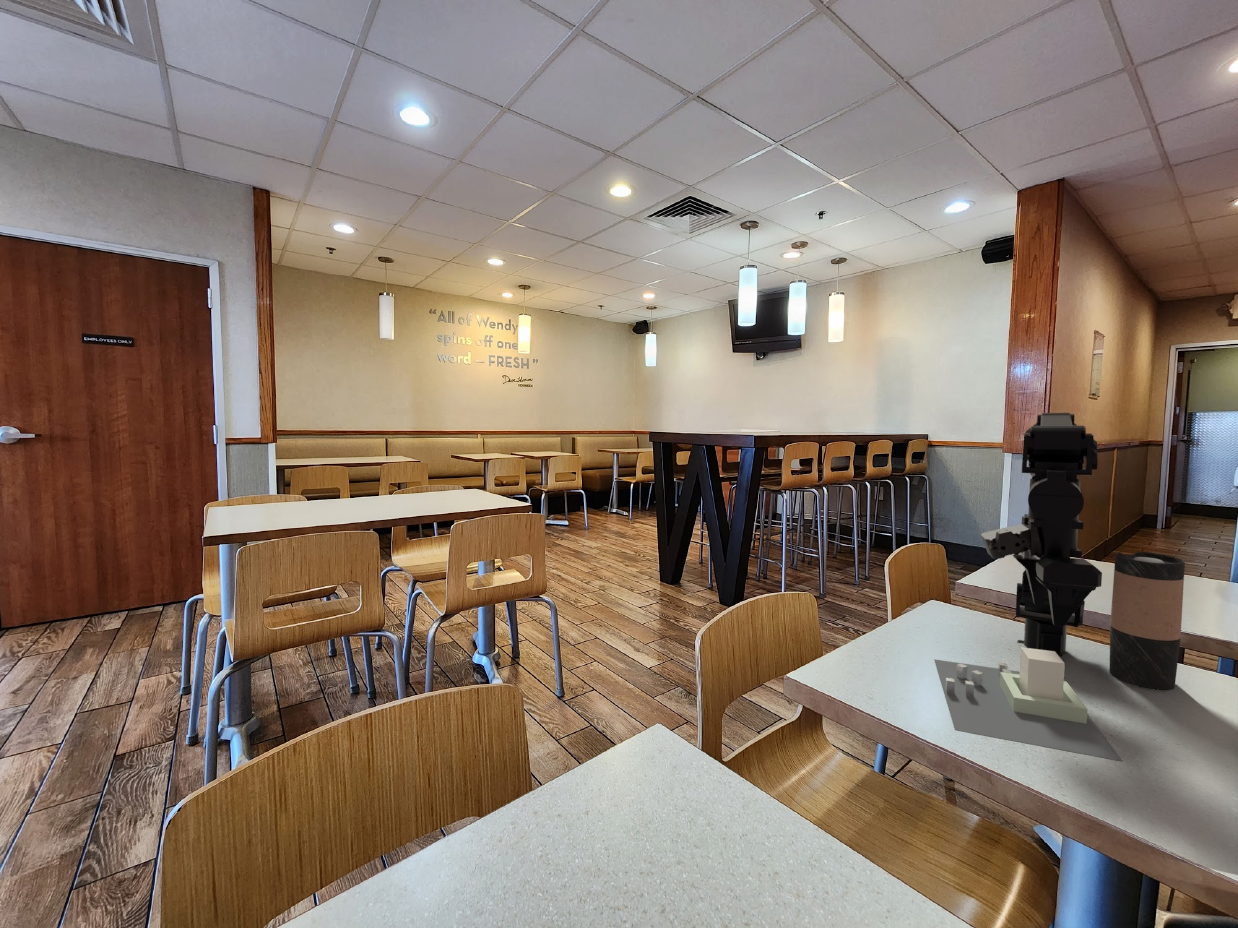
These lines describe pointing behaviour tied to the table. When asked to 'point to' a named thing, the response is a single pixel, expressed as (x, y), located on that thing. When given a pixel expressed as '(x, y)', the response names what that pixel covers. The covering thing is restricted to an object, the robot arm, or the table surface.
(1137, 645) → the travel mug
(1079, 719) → the end holder
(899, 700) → the table surface
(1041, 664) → the beige rectangular block
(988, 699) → the mat
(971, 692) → the set of small cubes
